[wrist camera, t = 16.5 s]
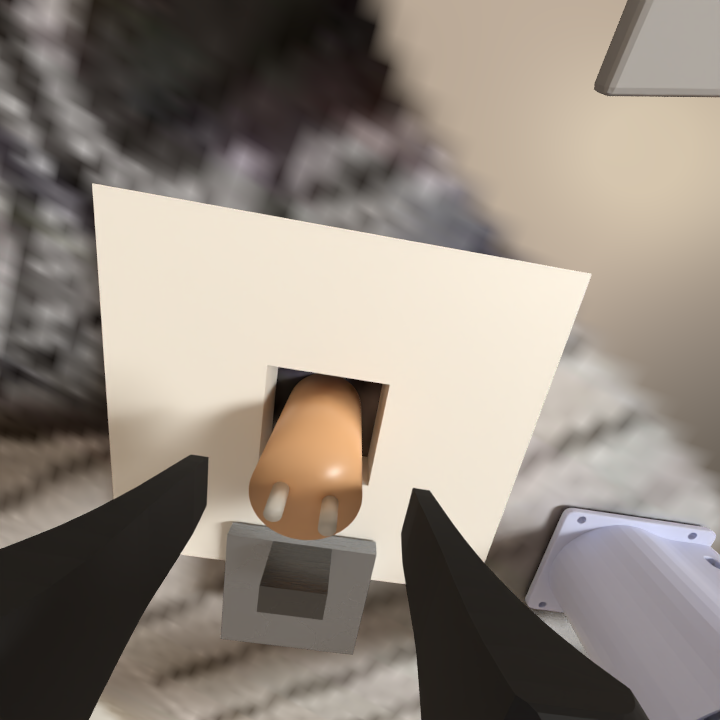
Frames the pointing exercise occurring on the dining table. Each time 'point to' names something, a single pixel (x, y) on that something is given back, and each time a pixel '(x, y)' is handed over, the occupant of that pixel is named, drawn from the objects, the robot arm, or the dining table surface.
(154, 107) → the dining table surface
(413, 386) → the socket plate
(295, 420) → the plug peg
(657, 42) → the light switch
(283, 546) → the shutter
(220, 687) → the dining table surface
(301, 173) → the dining table surface
